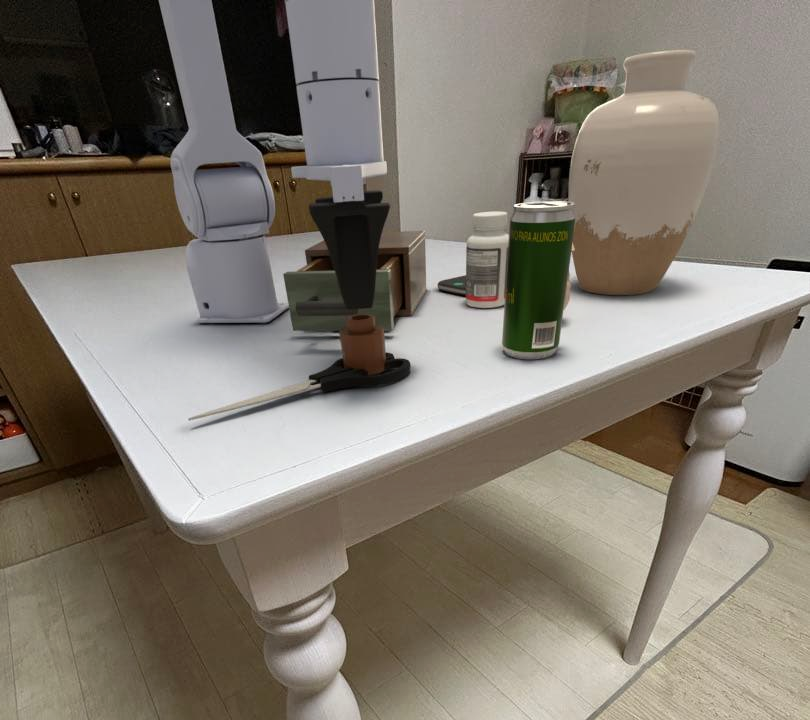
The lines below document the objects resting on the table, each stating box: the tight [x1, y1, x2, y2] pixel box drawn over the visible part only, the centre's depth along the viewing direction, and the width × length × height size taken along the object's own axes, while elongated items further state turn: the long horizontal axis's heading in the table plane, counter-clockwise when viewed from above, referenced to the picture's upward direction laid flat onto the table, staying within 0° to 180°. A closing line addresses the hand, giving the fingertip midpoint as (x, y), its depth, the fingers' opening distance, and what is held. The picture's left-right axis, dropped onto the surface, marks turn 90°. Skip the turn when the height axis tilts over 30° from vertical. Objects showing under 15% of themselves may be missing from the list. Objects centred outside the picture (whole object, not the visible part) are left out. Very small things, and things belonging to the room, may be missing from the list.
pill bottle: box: [465, 211, 509, 309], centre depth 62 cm, size 5×5×10 cm
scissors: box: [187, 351, 412, 421], centre depth 43 cm, size 7×1×20 cm
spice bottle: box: [339, 314, 387, 376], centre depth 46 cm, size 4×4×4 cm
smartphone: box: [437, 274, 466, 296], centre depth 73 cm, size 8×1×15 cm
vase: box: [567, 49, 720, 296], centre depth 62 cm, size 16×16×23 cm
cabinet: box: [304, 230, 427, 317], centre depth 66 cm, size 13×12×7 cm
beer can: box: [501, 200, 576, 360], centre depth 46 cm, size 5×5×12 cm
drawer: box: [282, 254, 405, 332], centre depth 57 cm, size 17×11×6 cm, turn 170°
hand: (358, 297), depth 44 cm, fingers open, 7 cm apart
